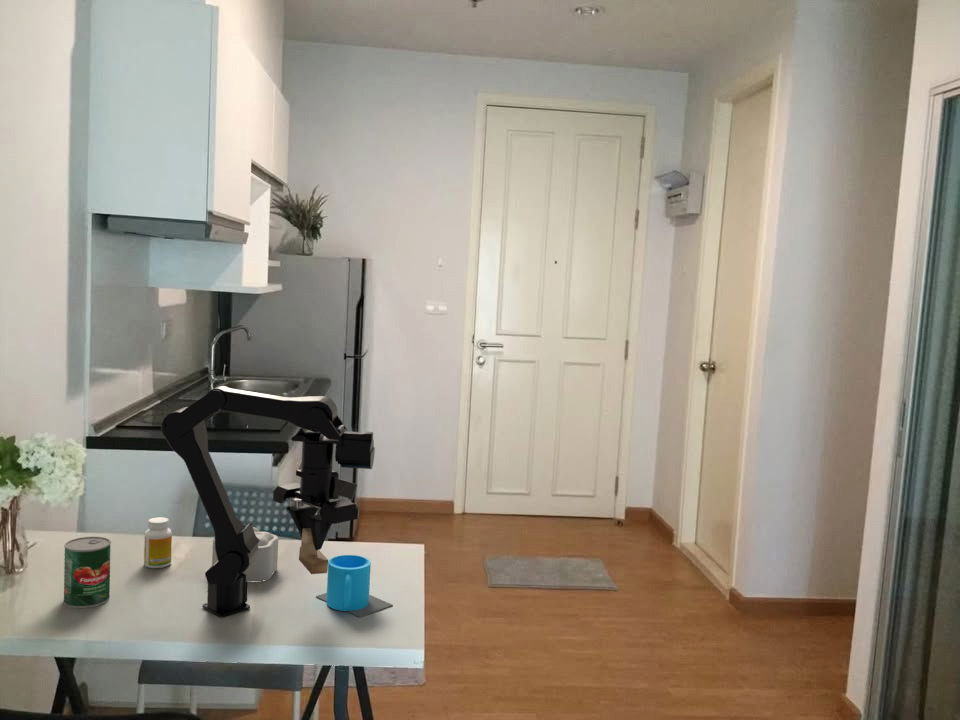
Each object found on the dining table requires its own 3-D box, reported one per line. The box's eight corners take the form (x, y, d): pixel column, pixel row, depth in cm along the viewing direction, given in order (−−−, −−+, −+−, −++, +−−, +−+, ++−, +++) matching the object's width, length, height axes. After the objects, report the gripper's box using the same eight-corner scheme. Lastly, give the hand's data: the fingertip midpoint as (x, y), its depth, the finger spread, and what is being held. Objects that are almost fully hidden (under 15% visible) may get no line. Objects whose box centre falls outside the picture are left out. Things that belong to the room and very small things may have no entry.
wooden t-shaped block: (307, 574, 152) (311, 536, 152) (295, 559, 159) (298, 523, 159) (327, 573, 154) (330, 536, 154) (314, 558, 161) (317, 523, 161)
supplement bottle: (176, 564, 179) (177, 519, 178) (154, 570, 174) (155, 525, 173) (160, 558, 182) (161, 514, 181) (138, 564, 177) (139, 519, 176)
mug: (327, 594, 167) (329, 554, 166) (368, 594, 168) (370, 555, 168) (324, 619, 155) (326, 576, 155) (368, 619, 157) (370, 577, 156)
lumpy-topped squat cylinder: (265, 583, 171) (267, 542, 170) (203, 578, 172) (204, 537, 171) (280, 566, 182) (282, 527, 181) (221, 561, 182) (223, 522, 181)
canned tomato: (88, 611, 153) (89, 552, 152) (53, 603, 155) (54, 546, 154) (119, 596, 161) (120, 540, 159) (85, 589, 163) (86, 534, 162)
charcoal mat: (359, 617, 158) (359, 616, 158) (315, 597, 166) (316, 596, 166) (392, 605, 164) (392, 604, 164) (349, 586, 172) (349, 585, 172)
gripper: (383, 470, 155) (378, 552, 157) (320, 450, 167) (316, 527, 169) (335, 478, 147) (331, 564, 148) (273, 457, 159) (269, 537, 161)
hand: (312, 547), depth 157 cm, fingers closed on wooden t-shaped block, 3 cm apart
